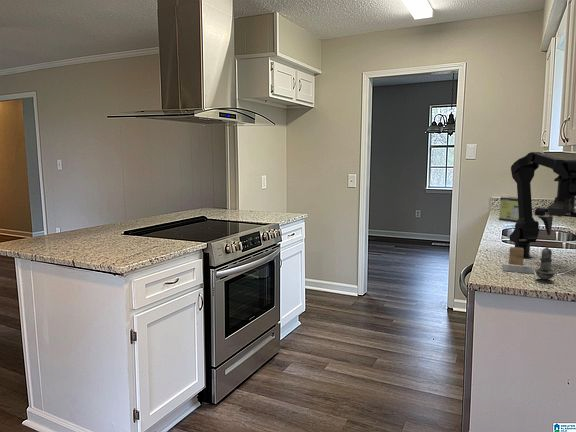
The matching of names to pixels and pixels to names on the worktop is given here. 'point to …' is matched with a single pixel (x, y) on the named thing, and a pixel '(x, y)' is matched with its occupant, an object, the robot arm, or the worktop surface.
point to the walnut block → (516, 256)
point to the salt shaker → (545, 268)
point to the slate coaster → (518, 269)
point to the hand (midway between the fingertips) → (562, 237)
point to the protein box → (509, 209)
